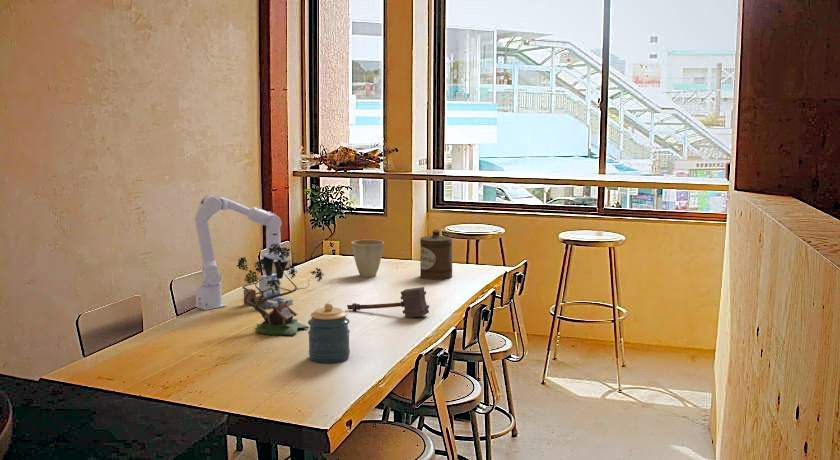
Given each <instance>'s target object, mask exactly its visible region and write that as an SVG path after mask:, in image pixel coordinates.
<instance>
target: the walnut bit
mask: <svg viewBox="0 0 840 460" xmlns="http://www.w3.org/2000/svg"><path fill="white" fill-rule="evenodd" d="M247 289H248V290H249V291H250V294H249V296H248V297H247V299H246V300H247V301H248V302H250V301H252V299H253V298H254V297H255V298H257V295H255V296H254V297H253V295H254V294H256V293H257V291H256V289H253V288H247ZM247 293H248V291H247V290H245V289H243V299H244V298H245V296H246V295H247ZM255 300H256V299H255ZM255 300H254V301H255ZM256 301H257V300H256ZM256 301H255V302H256ZM255 302H251V303H252V304H253V303H255ZM243 306H247V307H250V305H248V304H247V303H246V302H245V301H244V300H243Z"/></svg>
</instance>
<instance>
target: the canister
mask: <svg viewBox="0 0 840 460" xmlns="http://www.w3.org/2000/svg"><path fill="white" fill-rule="evenodd" d="M347 315H348V313H347V312H346V311H345V310H343V309H341V308H338V307H334V306H333V304H332V303H330V302H327V303H325V304H324V306H323V307H319V308H317V309H315V310H314V311H313V312H311V313H310V317H311V318H310V319H309V320H307V324H308V325H309V330H308V357H309V360H310V361H312V362H315V363H318V364H319V363H322V364H335V363H340V362H343V361H346V360H348V359H349V358H350V354H351V351H350V350H351V349H350V332H351V331H350V329H349V323H350V319H349V318H347V317H346V316H347Z"/></svg>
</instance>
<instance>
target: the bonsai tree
mask: <svg viewBox="0 0 840 460" xmlns="http://www.w3.org/2000/svg"><path fill="white" fill-rule="evenodd" d="M273 245H274V247H273V249H272V248H269V251H270V252H269V253H272V252H274V255H275V253H276V255H277V253H278V254H280V252H281V254H280V255H278V256H279V258H282V260H284V256H285V257H286V259H288V257H290V252H289V251H291V248H288V247H281V248H280V245H278V244H277V243H276V244H271V247H272V246H273ZM278 246H279V247H278ZM277 247H278V248H277ZM274 249H275V250H274ZM277 250H278V251H277ZM276 258H277V257H276ZM276 261H278V260H276ZM286 261H287V262H289V260H286ZM247 262H248V260H247V259H246V256H244V257H239V259H238V260H237V264H236V265H235V266H236V267H238V269H239V270H242V271H245V272H248V273H247V274H245V277H244V282H245V283H246V284H244V285H242V289H243V290H247V291H248V293H247V295H246V296H245V298H244V297H243V302H244V301H245V302H246V303H247V304H248V305H250V306H251V307H252V309H254V311H255V310H256V311H257V312H258V313H259V314H260V315H261V317H262V318H263V320H264V321H263V322H261V323H257V324H256V328H255V329H256V331H257V333H259V334H261V335H267V336H287V337H289V336H290V337H293V336H295V334H297V333H298V330H301V329H302V330H303V329H310V326H308V325H306V324H302V323H300V322H298V319H297V318H296V319H295V318H294V317H296V316H297V315H298V313H297V312H296V311H295V310H293V309H292V308H291V307H290V306H289V305H287V303H288V301H287V300H286V302H285V303H284V304H283V305H282V303H283V301H277V303H278V307H276V306H275V307H274V306H273V308H272V310H271V311H270V312H268V311H266V310H264V309H262V308H261V307H259V304H262V303H263V304H264V302H265V301H267V300H270V299H273V298H276V297H279V296H281V297H284V296H285V295H289V294H292V293H294V292H296V291H298V290H303V289H307V288H308V287H309V285H310V283H307V285H306V286H307V287H301V288H297V287H298V286H297V285H296V284H295V283H294V282H292V279H294V278H295V277H296V274H297V273H298V271H297V268H296V266H294V265H292V264H288V263H287V266H289V267H285V268H284V271H283V268H281V267H280V268H281V269H282V271H283V275H284V276H285V277H286V279H288V280H289V282H290V283H291V284H292V285H293V286H294V289H292V290H291V289H287V288H283V287H281V285H282V282H280V283H279V281H278V279H277V280H274V279H275V278H274V279H273V278H272V279H271V281H267V284H268V283H269V284H270V285H269V286H270V288H268V289H266V290H264V291H262V290H260V289H259V286H257V284H259V281H261V280H262V279H261V280H259V277H257V272H258V273H259V274H260V273H261V271H262V272H264V271H266V270H268V269H266V270H265V268H266V267H265V266H263V265H266V264H267V263H264V261H261V260H259V261H258V260H257V261H256V262H254V269H255V271H252V270H251V269H249V268H248V263H247ZM293 262H295V263H296V262H299V261H298V260H297V261H296V260H295V261H294V260H293ZM263 263H264V264H263ZM278 263H279V262H278ZM249 265H252V264H251V263H249ZM279 265H280V264H279ZM314 268H315V270H312V271H310V273H311V275H312V276H313V275H314V278H311V279H310V280H309V279H307V281H308V282H310V281H311V280H314V279H316V281H317V282H318V283H319V282H320V281H321V280H323V277H324V275H325V274H324V272H323V271H322V269H320V268H319V267H314ZM248 269H249V270H248ZM285 272H288V273H287V274H286V273H285ZM269 275H270V274H269ZM269 275H268V274H267V276H269ZM267 276H266V277H267ZM288 276H290V278H289V277H288ZM266 277H265V278H266ZM263 279H264V278H263ZM275 282H277V283H275ZM277 284H278V285H279V284H280V287H278V286H277ZM252 285H254V286H255V289H257V290H258V291H260V292H256V294H254V295H253V297H254V296H255V295H256V298H255V297H254V298H253V299H252V301H250V302H248V301H247V300H246V299H247V297H248V296H249V294H250V291H249V290H248V289H249V288H247V287H248V286H252ZM274 285H275V286H274ZM266 286H268V285H266ZM272 286H274V287H276V288H275V289H276V290H278V289H277V288H280V290H284V291H286V292H282V293H281V292H280V294H277V295H275V294H274V291H275V289H274V290H273V288H274V287H273V288H272ZM269 289H271V290H272V293H273V296H269V297H263V295H264V294H263V292H265V291H267V290H269ZM260 293H262V295H261V296H259V297H258V296H257V295H259V294H260ZM262 298H264V299H262ZM255 299H256V300H255ZM254 300H255V301H256V302H255V301H254ZM251 302H255V303H253V304H252V303H251ZM250 306H249V307H250Z"/></svg>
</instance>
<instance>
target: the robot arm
mask: <svg viewBox="0 0 840 460" xmlns="http://www.w3.org/2000/svg"><path fill="white" fill-rule="evenodd" d="M197 207H198V208H197V210H196V212H195V214H194V223H195V229H196V233H197V238H198V245H199V250H200V254H201V261H202V270H201V277H202V278H203V282H202V283H201V285H200V286H198V287H197V286H196V289H195V307H196V308H198V309H201V310H203V311H204V310H205V311H208V310H212V309H218V308H224V307H227V304H224V303H222V302H223V301H222V282H221V280H222V274H221V273H220V271H219V270H218V266H217V262H216V260H215V254H214V248H213V244H212V243H213V242H212V238H211V234H210V233H211V232H210V228H209V220H210V219H211V218H212V217H213V215H215V214H217V213H218V212H220V211H226V210H231V211H234V212H236V213H239V214H242V215H245V216H247V218H248V220H249V221H252V222H254V223H256V224H258V225H262V226H265V227H266V228H265V230H266V232H265V238H266V239H265V241H266V242H265V243H266V246H265V247H266V251H265V252H261V258H260V261H264V263H267V264H266V265H263V266H265V267H266V268H265V270H266V269H268V270H266V271H265V270H264V271H265V275H266V276H267V274H268V275H269V274H270V275H269V276H272V273H273V266H274V267H275V271H276V272H275V274H276V275H277V279H281V280H282V279H283V277H284V273H283V271H284V272H285V270H284V268H285V269H286V268H287V267H286V266H288V262H289V261H288V260H287V258H286V257H285V256H284V260H282V258H279V256H278V255H280V254H281V252H280V254H278V253H277V255H276V253H275V255H274V252H272V253H269V252H270V251H269V248H272V249H273V247H274V245H273V246H272V247H271V244H276V243H277V244H278V245H280V248H282V244H281V243H282V242H281V241H282V239H281V238H282V237H281V234H282V233H281V227H282V225H283V221H282V219H281V218H280V217H279V216H278V215H277V214H274V213H273V212H272V211H267V210H264V209H261V206H258V205H257V206H252V207H247V206H245V205H243V204H241V203H238V202H236V201H234V200H231V199H230V198H227V197H223V196H216V195H215V194H212V193H211V194H207V195H205V196H203V198H202V199H201V200H200V201H199V205H198V206H197ZM278 247H279V246H278ZM278 247H277V248H278ZM274 250H275V249H274ZM277 251H278V250H277ZM276 257H277V258H276ZM277 260H278V261H277ZM287 261H288V262H287ZM278 262H279V263H278ZM264 263H263V264H264ZM279 264H280V265H279ZM280 267H281V268H283V271H282V269H281V268H280Z"/></svg>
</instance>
